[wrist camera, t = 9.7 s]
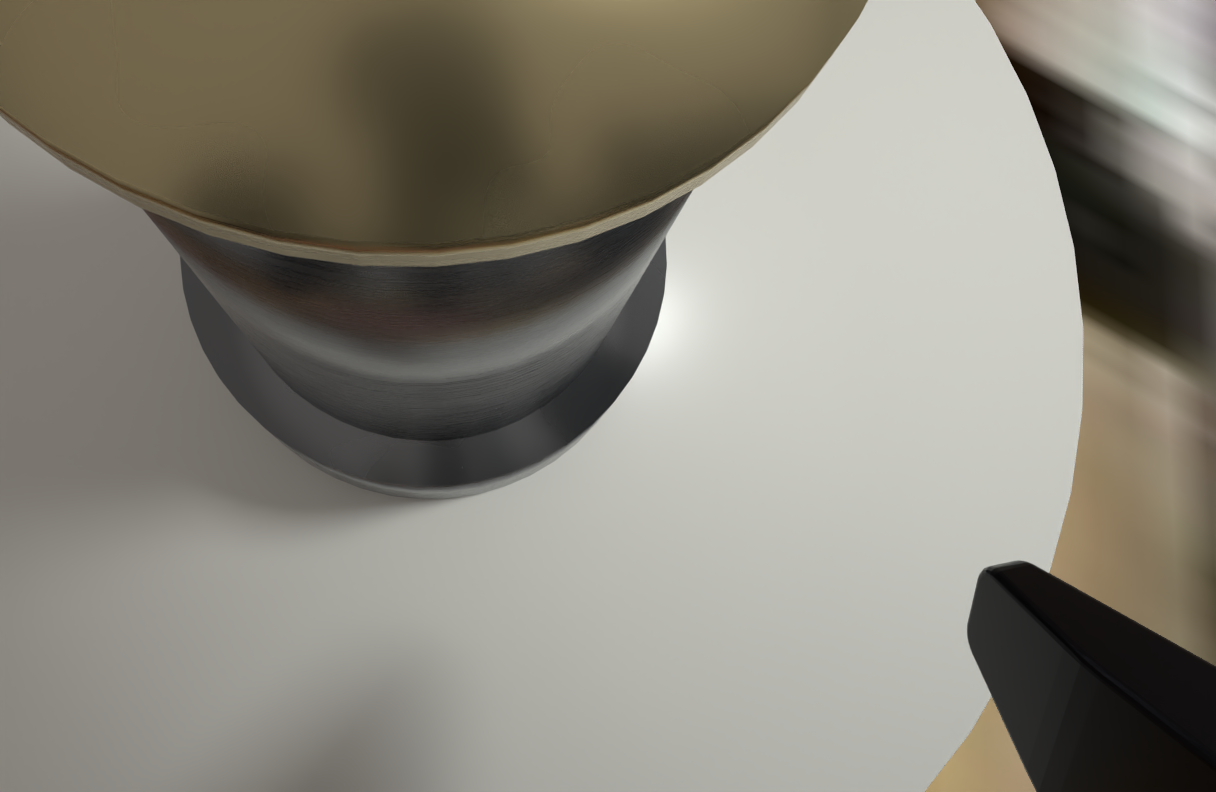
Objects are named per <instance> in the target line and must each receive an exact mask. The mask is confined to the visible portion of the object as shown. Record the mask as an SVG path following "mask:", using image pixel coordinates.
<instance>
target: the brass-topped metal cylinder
mask: <svg viewBox="0 0 1216 792" xmlns="http://www.w3.org/2000/svg"><path fill="white" fill-rule="evenodd" d="M867 1H868V0H0V116H1V117H2V118H3V119H4V120H5V121H6V122H7V123H8V124H10V125H11V126H13V127H14V128H15V129H17V130H18V131H19V132H21V133H22V134H23V135H25V136H26V137H27V138H29V139H30V140H31V141H33V142H34V143H36V144H37V145H38V146H40V147H41V148H42V149H44V150H45V151H46V152H48V153H49V154H50V155H52V156H53V157H54V158H56V159H57V160H59V161H60V162H61V163H63V164H64V165H65V166H67V167H68V168H69V169H71V170H73V171H75V172H76V173H78V174H80V175H82V176H84V177H85V178H87V179H89V180H91V181H93V182H94V183H96V184H98V185H100V186H102V187H103V188H105V189H107V190H109V191H111V192H112V193H114V194H116V195H118V196H120V197H121V198H123V199H125V200H127V201H129V202H130V203H132V204H134V205H136V206H138V207H140V208H142V209H143V210H144V211H145V213H146V214H147V215H148V216H149V218H150V219H151V220H152V221H153V223H154V224H155V225H156V226H157V228H158V229H159V230H160V231H161V233H162V234H163V235H164V236H165V237H166V239H167V240H168V241H169V242H170V244H171V245H172V246H173V247H174V249H175V250H176V251H177V252H178V254H179V255H180V263H181V274H182V284H183V291H184V295H185V299H186V303H187V307H188V311H189V315H190V319H191V322H192V325H193V327H194V330H195V332H196V334H197V337H198V339H199V342H200V344H201V347H202V349H203V351H204V353H205V355H206V356H207V358H208V360H209V361H210V363H211V365H212V367H213V368H214V370H215V372H216V374H217V375H218V377H219V378H220V380H221V381H222V382H223V384H224V385H225V386H226V387H227V389H228V390H229V391H230V393H231V394H232V395H233V396H234V398H235V399H236V400H237V401H238V403H239V404H240V405H241V406H242V407H243V408H244V409H245V410H246V411H247V412H248V413H249V414H250V415H252V416H253V417H254V418H255V419H256V420H257V421H258V422H259V423H260V424H261V425H262V426H263V427H264V428H265V429H266V430H267V431H269V432H270V433H271V434H272V435H273V436H274V437H275V438H277V439H278V440H279V441H280V442H281V443H282V444H283V445H285V446H286V447H287V448H288V449H290V450H291V451H292V452H294V453H295V454H296V455H298V456H299V457H300V458H302V459H303V460H305V461H306V462H307V463H309V464H310V465H312V466H314V467H316V468H317V469H319V470H321V471H323V472H325V473H326V474H328V475H330V476H332V477H334V478H336V479H338V480H341V481H343V482H346V483H349V484H351V485H354V486H356V487H359V488H361V489H365V490H369V491H373V492H377V493H381V494H385V495H389V496H397V497H406V498H415V499H449V498H456V497H463V496H469V495H476V494H480V493H484V492H487V491H491V490H494V489H498V488H501V487H505V486H507V485H510V484H512V483H514V482H517V481H519V480H521V479H523V478H526V477H528V476H530V475H532V474H534V473H536V472H537V471H539V470H541V469H542V468H544V467H546V466H547V465H549V464H551V463H552V462H554V461H556V460H557V459H558V458H559V457H561V456H562V455H563V454H564V453H566V452H567V451H568V450H569V449H571V448H572V447H573V446H574V445H576V444H577V443H578V442H579V441H580V440H581V439H582V438H583V437H584V436H585V435H586V434H587V433H588V432H589V430H590V429H591V428H592V427H593V426H594V425H595V424H596V423H597V422H598V421H599V419H600V418H601V417H602V416H603V415H604V414H605V412H606V411H607V410H608V409H609V408H610V406H611V405H612V404H613V403H614V402H615V400H616V399H617V398H618V396H619V395H620V393H621V392H622V391H623V389H624V388H625V387H626V385H627V384H628V383H629V381H630V380H631V378H632V377H633V375H634V374H635V372H636V370H637V368H638V366H639V364H640V363H641V361H642V359H643V357H644V355H645V353H646V352H647V349H648V347H649V344H650V341H651V339H652V336H653V334H654V331H655V328H656V326H657V323H658V319H659V314H660V310H661V306H662V302H663V297H664V291H665V280H666V269H667V256H666V235H667V233H668V232H669V230H670V228H671V226H672V225H673V223H674V221H675V220H676V218H677V216H678V215H679V213H680V211H681V210H682V208H683V206H684V205H685V203H686V201H687V199H688V198H689V196H690V194H691V193H692V191H693V189H695V188H697V187H699V186H701V185H702V184H704V183H705V182H706V181H708V180H709V179H710V178H712V177H713V176H714V175H716V174H717V173H718V172H720V171H721V170H722V169H724V168H725V167H726V166H728V165H729V164H730V163H732V162H733V161H734V160H736V159H737V158H738V157H740V156H741V155H742V154H744V153H745V152H746V151H748V150H749V149H750V148H752V147H753V146H754V145H755V144H756V143H757V142H758V141H759V140H760V139H761V138H762V137H763V136H764V135H765V134H766V133H767V132H768V131H769V130H770V129H771V128H772V127H773V126H774V125H775V124H776V123H777V122H778V121H779V120H780V119H781V118H782V117H783V116H784V115H785V114H786V113H787V112H788V111H789V110H790V109H791V108H792V107H793V106H794V105H795V104H796V103H797V102H798V101H799V99H800V98H801V97H802V95H803V94H804V93H805V91H806V90H807V89H808V87H809V86H810V85H811V83H812V82H813V81H814V79H815V78H816V77H817V75H818V74H819V73H820V71H821V70H822V69H823V67H824V66H825V65H826V63H827V62H828V60H829V59H830V58H831V56H832V55H833V54H834V52H835V51H836V49H837V48H838V47H839V45H840V44H841V42H842V41H843V40H844V38H845V37H846V35H847V34H848V32H849V31H850V30H851V28H852V27H853V25H854V24H855V22H856V21H857V20H858V18H859V16H860V14H861V12H862V11H863V9H864V7H865V5H866V3H867Z"/></svg>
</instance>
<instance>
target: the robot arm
mask: <svg viewBox="0 0 1216 792" xmlns="http://www.w3.org/2000/svg"><path fill="white" fill-rule="evenodd" d="M967 638H968V643H969V646H970V649H971V652H972V654H973V657H974V659H975V661H976V663H977V665H978V667H979V670H980V672H981V674H982V676H983V678H984V680H985V683H986V685H987V687H988V689H989V691H990V693H991V696H992V698H993V700H994V702H995V704H996V707H997V709H998V711H999V713H1000V715H1001V717H1002V720H1003V722H1004V724H1005V726H1006V728H1007V730H1008V733H1009V735H1010V737H1011V739H1012V741H1013V743H1014V746H1015V748H1016V750H1017V752H1018V754H1019V756H1020V759H1021V761H1022V763H1023V765H1024V767H1025V769H1026V772H1027V774H1028V776H1029V778H1030V780H1031V782H1032V784H1033V786H1034V788H1035V790H1036V792H1216V666H1214V665H1212V664H1211V663H1209V662H1207V661H1205V660H1203V659H1202V658H1200V657H1198V656H1196V655H1194V654H1193V653H1191V652H1189V651H1187V650H1186V649H1184V648H1182V647H1180V646H1178V645H1177V644H1175V643H1173V642H1171V641H1169V640H1168V639H1166V638H1164V637H1162V636H1161V635H1159V634H1157V633H1155V632H1153V631H1152V630H1150V629H1148V628H1146V627H1144V626H1143V625H1141V624H1139V623H1137V622H1136V621H1134V620H1132V619H1130V618H1128V617H1127V616H1125V615H1123V614H1121V613H1119V612H1118V611H1116V610H1114V609H1112V608H1111V607H1109V606H1107V605H1105V604H1103V603H1102V602H1100V601H1098V600H1096V599H1094V598H1093V597H1091V596H1089V595H1087V594H1086V593H1084V592H1082V591H1080V590H1078V589H1077V588H1075V587H1073V586H1071V585H1069V584H1068V583H1066V582H1064V581H1062V580H1061V579H1059V578H1057V577H1055V576H1053V575H1052V574H1050V573H1048V572H1046V571H1044V570H1043V569H1041V568H1039V567H1037V566H1036V565H1034V564H1031V563H1029V562H1026V561H1021V560H1017V561H1011V562H1006V563H1002V564H997V565H992V566H988V567H986V568H984V569H983V570H982V572H981V573H980V574H979V576H978V579H977V584H976V588H975V592H974V597H973V601H972V605H971V610H970V614H969V619H968V623H967Z"/></svg>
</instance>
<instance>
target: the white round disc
mask: <svg viewBox="0 0 1216 792" xmlns="http://www.w3.org/2000/svg"><path fill="white" fill-rule="evenodd" d="M666 256H667V269H666V280H665V291H664V297H663V302H662V306H661V310H660V314H659V319H658V323H657V326H656V328H655V331H654V334H653V336H652V339H651V341H650V344H649V347H648V349H647V352H646V353H645V355H644V357H643V359H642V361H641V363H640V364H639V366H638V368H637V370H636V372H635V374H634V375H633V377H632V378H631V380H630V381H629V383H628V384H627V385H626V387H625V388H624V389H623V391H622V392H621V393H620V395H619V396H618V398H617V399H616V400H615V402H614V403H613V404H612V405H611V406H610V408H609V409H608V410H607V411H606V412H605V414H604V415H603V416H602V417H601V418H600V419H599V421H598V422H597V423H596V424H595V425H594V426H593V427H592V428H591V429H590V430H589V432H588V433H587V434H586V435H585V436H584V437H583V438H582V439H581V440H580V441H579V442H578V443H577V444H576V445H574V446H573V447H572V448H571V449H569V450H568V451H567V452H566V453H564V454H563V455H562V456H561V457H559V458H558V459H557V460H556V461H554V462H552V463H551V464H549V465H547V466H546V467H544V468H542V469H541V470H539V471H537V472H536V473H534V474H532V475H530V476H528V477H526V478H523V479H521V480H519V481H517V482H514V483H512V484H510V485H507V486H505V487H501V488H498V489H494V490H491V491H487V492H484V493H480V494H476V495H469V496H463V497H456V498H449V499H415V498H406V497H397V496H389V495H385V494H381V493H377V492H373V491H369V490H365V489H361V488H359V487H356V486H354V485H351V484H349V483H346V482H343V481H341V480H338V479H336V478H334V477H332V476H330V475H328V474H326V473H325V472H323V471H321V470H319V469H317V468H316V467H314V466H312V465H310V464H309V463H307V462H306V461H305V460H303V459H302V458H300V457H299V456H298V455H296V454H295V453H294V452H292V451H291V450H290V449H288V448H287V447H286V446H285V445H283V444H282V443H281V442H280V441H279V440H278V439H277V438H275V437H274V436H273V435H272V434H271V433H270V432H269V431H267V430H266V429H265V428H264V427H263V426H262V425H261V424H260V423H259V422H258V421H257V420H256V419H255V418H254V417H253V416H252V415H250V414H249V413H248V412H247V411H246V410H245V409H244V408H243V407H242V406H241V405H240V404H239V403H238V401H237V400H236V399H235V398H234V396H233V395H232V394H231V393H230V391H229V390H228V389H227V387H226V386H225V385H224V384H223V382H222V381H221V380H220V378H219V377H218V375H217V374H216V372H215V370H214V368H213V367H212V365H211V363H210V361H209V360H208V358H207V356H206V355H205V353H204V351H203V349H202V347H201V344H200V342H199V339H198V337H197V334H196V332H195V330H194V327H193V325H192V322H191V319H190V315H189V311H188V307H187V303H186V299H185V295H184V291H183V284H182V274H181V263H180V255H179V254H178V252H177V251H176V250H175V249H174V247H173V246H172V245H171V244H170V242H169V241H168V240H167V239H166V237H165V236H164V235H163V234H162V233H161V231H160V230H159V229H158V228H157V226H156V225H155V224H154V223H153V221H152V220H151V219H150V218H149V216H148V215H147V214H146V213H145V211H144V210H143V209H142V208H140V207H138V206H136V205H134V204H132V203H130V202H129V201H127V200H125V199H123V198H121V197H120V196H118V195H116V194H114V193H112V192H111V191H109V190H107V189H105V188H103V187H102V186H100V185H98V184H96V183H94V182H93V181H91V180H89V179H87V178H85V177H84V176H82V175H80V174H78V173H76V172H75V171H73V170H71V169H69V168H68V167H67V166H65V165H64V164H63V163H61V162H60V161H59V160H57V159H56V158H54V157H53V156H52V155H50V154H49V153H48V152H46V151H45V150H44V149H42V148H41V147H40V146H38V145H37V144H36V143H34V142H33V141H31V140H30V139H29V138H27V137H26V136H25V135H23V134H22V133H21V132H19V131H18V130H17V129H15V128H14V127H13V126H11V125H10V124H8V123H7V122H6V121H5V120H4V119H3V118H2V117H1V116H0V792H925V790H926V789H927V788H928V786H929V785H930V784H931V783H932V781H933V780H934V779H935V777H936V776H937V775H938V774H939V772H940V771H941V770H942V768H943V767H944V766H945V765H946V763H947V762H948V761H949V759H950V758H951V757H952V755H953V754H954V753H955V752H956V750H957V749H958V748H959V746H960V745H961V744H962V743H963V741H964V740H965V739H966V737H967V736H968V735H969V734H970V732H971V730H972V729H973V727H974V725H975V724H976V722H977V720H978V718H979V717H980V715H981V713H982V712H983V710H984V708H985V706H986V705H987V703H988V701H989V699H990V698H991V693H990V691H989V689H988V687H987V685H986V683H985V680H984V678H983V676H982V674H981V672H980V670H979V667H978V665H977V663H976V661H975V659H974V657H973V654H972V652H971V649H970V646H969V643H968V638H967V623H968V619H969V614H970V610H971V605H972V601H973V597H974V592H975V588H976V584H977V579H978V576H979V574H980V573H981V572H982V570H983V569H984V568H986V567H988V566H992V565H997V564H1002V563H1006V562H1011V561H1017V560H1021V561H1026V562H1029V563H1031V564H1034V565H1036V566H1037V567H1039V568H1041V569H1043V570H1044V571H1046V572H1048V573H1049V572H1050V568H1051V565H1052V561H1053V557H1054V553H1055V550H1056V546H1057V542H1058V539H1059V535H1060V531H1061V528H1062V524H1063V520H1064V516H1065V513H1066V509H1067V505H1068V502H1069V498H1070V494H1071V489H1072V482H1073V474H1074V467H1075V460H1076V452H1077V445H1078V438H1079V430H1080V423H1081V416H1082V394H1083V322H1082V314H1081V305H1080V296H1079V288H1078V279H1077V270H1076V262H1075V253H1074V246H1073V242H1072V238H1071V233H1070V229H1069V225H1068V221H1067V217H1066V213H1065V209H1064V205H1063V201H1062V196H1061V192H1060V188H1059V184H1058V180H1057V176H1056V172H1055V168H1054V165H1053V163H1052V160H1051V157H1050V155H1049V152H1048V149H1047V147H1046V144H1045V141H1044V139H1043V136H1042V133H1041V131H1040V128H1039V125H1038V123H1037V120H1036V117H1035V115H1034V112H1033V109H1032V107H1031V104H1030V101H1029V99H1028V96H1027V94H1026V92H1025V90H1024V88H1023V86H1022V84H1021V82H1020V80H1019V78H1018V76H1017V74H1016V72H1015V71H1014V69H1013V67H1012V65H1011V63H1010V61H1009V59H1008V57H1007V55H1006V53H1005V51H1004V49H1003V47H1002V45H1001V43H1000V41H999V40H998V38H997V36H996V34H995V32H994V30H993V28H992V26H991V24H990V23H989V21H988V20H987V18H986V17H985V15H984V14H983V12H982V11H981V9H980V8H979V6H978V5H977V3H976V2H975V0H868V1H867V3H866V5H865V7H864V9H863V11H862V12H861V14H860V16H859V18H858V20H857V21H856V22H855V24H854V25H853V27H852V28H851V30H850V31H849V32H848V34H847V35H846V37H845V38H844V40H843V41H842V42H841V44H840V45H839V47H838V48H837V49H836V51H835V52H834V54H833V55H832V56H831V58H830V59H829V60H828V62H827V63H826V65H825V66H824V67H823V69H822V70H821V71H820V73H819V74H818V75H817V77H816V78H815V79H814V81H813V82H812V83H811V85H810V86H809V87H808V89H807V90H806V91H805V93H804V94H803V95H802V97H801V98H800V99H799V101H798V102H797V103H796V104H795V105H794V106H793V107H792V108H791V109H790V110H789V111H788V112H787V113H786V114H785V115H784V116H783V117H782V118H781V119H780V120H779V121H778V122H777V123H776V124H775V125H774V126H773V127H772V128H771V129H770V130H769V131H768V132H767V133H766V134H765V135H764V136H763V137H762V138H761V139H760V140H759V141H758V142H757V143H756V144H755V145H754V146H753V147H752V148H750V149H749V150H748V151H746V152H745V153H744V154H742V155H741V156H740V157H738V158H737V159H736V160H734V161H733V162H732V163H730V164H729V165H728V166H726V167H725V168H724V169H722V170H721V171H720V172H718V173H717V174H716V175H714V176H713V177H712V178H710V179H709V180H708V181H706V182H705V183H704V184H702V185H701V186H699V187H697V188H695V189H693V191H692V193H691V194H690V196H689V198H688V199H687V201H686V203H685V205H684V206H683V208H682V210H681V211H680V213H679V215H678V216H677V218H676V220H675V221H674V223H673V225H672V226H671V228H670V230H669V232H668V233H667V235H666Z"/></svg>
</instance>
